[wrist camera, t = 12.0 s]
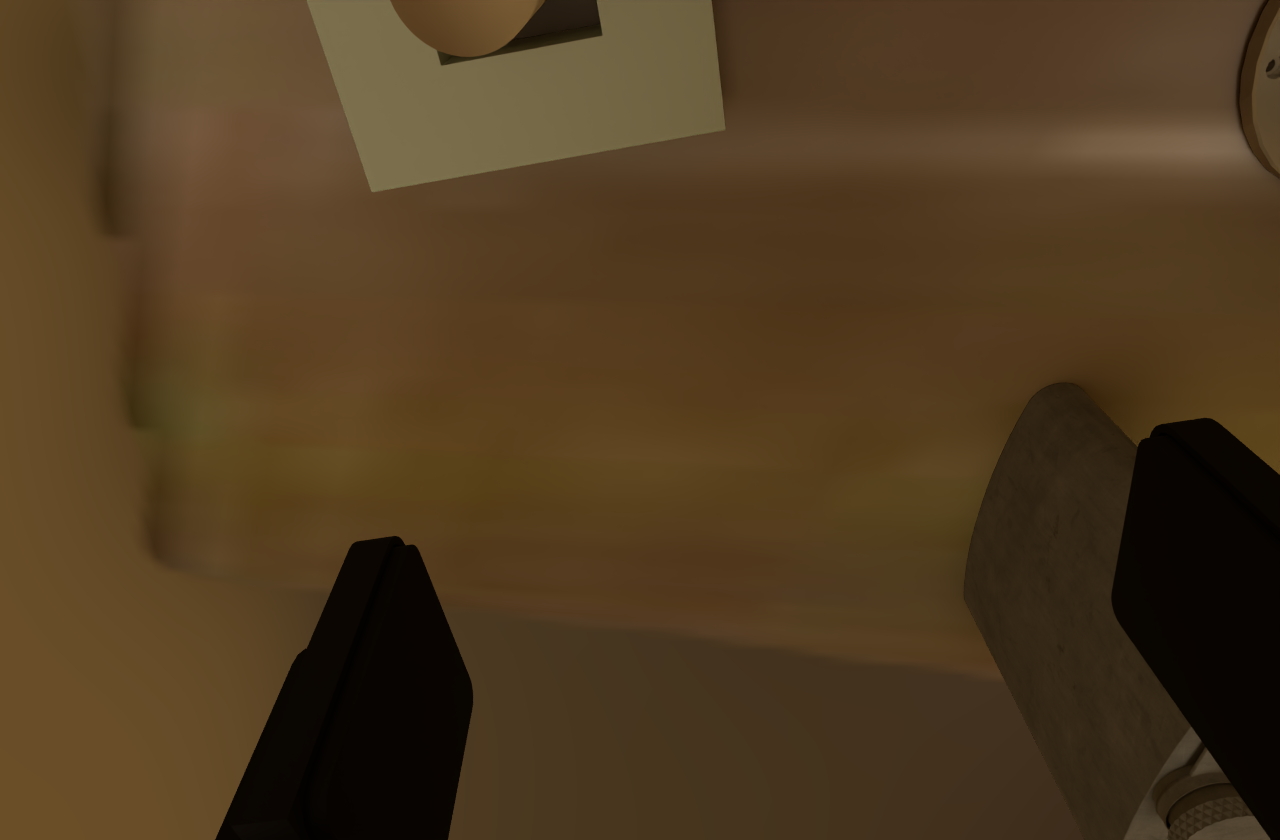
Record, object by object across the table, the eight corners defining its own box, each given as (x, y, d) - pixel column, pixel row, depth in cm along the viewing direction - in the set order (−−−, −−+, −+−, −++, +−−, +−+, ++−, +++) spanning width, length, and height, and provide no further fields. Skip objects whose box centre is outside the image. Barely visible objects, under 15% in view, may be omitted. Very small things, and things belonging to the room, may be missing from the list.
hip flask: (1008, 610, 51) (1205, 964, 34) (943, 609, 50) (1108, 963, 33) (1095, 383, 42) (1414, 700, 25) (1017, 381, 42) (1285, 698, 25)
